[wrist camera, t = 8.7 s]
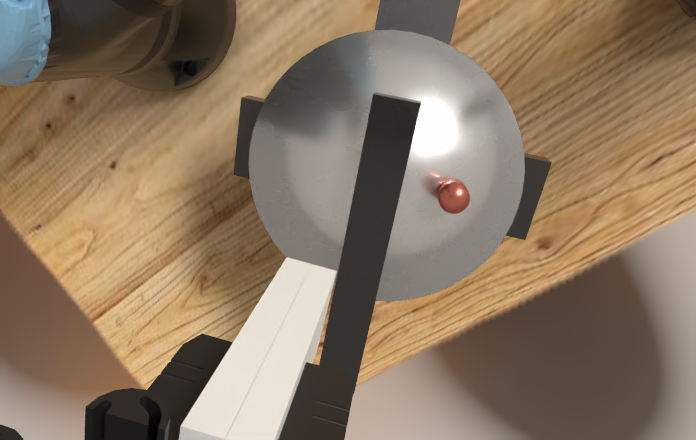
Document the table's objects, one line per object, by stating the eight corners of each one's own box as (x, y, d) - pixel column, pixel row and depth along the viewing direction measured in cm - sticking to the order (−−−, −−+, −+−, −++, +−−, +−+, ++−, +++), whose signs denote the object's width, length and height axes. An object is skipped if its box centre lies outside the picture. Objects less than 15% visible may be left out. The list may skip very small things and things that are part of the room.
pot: (266, 205, 50) (220, 249, 39) (295, -17, 42) (249, -41, 31) (485, 254, 48) (504, 316, 37) (554, 33, 41) (604, 25, 29)
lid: (231, 337, 40) (216, 359, 37) (272, 6, 32) (256, 0, 29) (454, 393, 39) (457, 420, 36) (559, 61, 30) (575, 61, 27)
